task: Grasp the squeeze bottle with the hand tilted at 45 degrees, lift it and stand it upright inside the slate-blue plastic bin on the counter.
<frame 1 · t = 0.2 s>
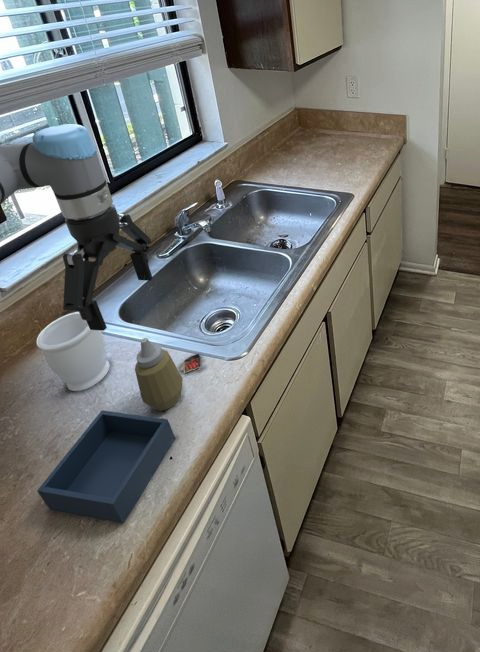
hand: (123, 302, 86), 26 cm above the worktop, tool pointing down, fingers open, 13 cm apart
jar: (89, 375, 102), on the worktop
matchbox: (191, 365, 104), on the worktop
squeeze bottle: (167, 399, 96), on the worktop
bin: (116, 472, 83), on the worktop
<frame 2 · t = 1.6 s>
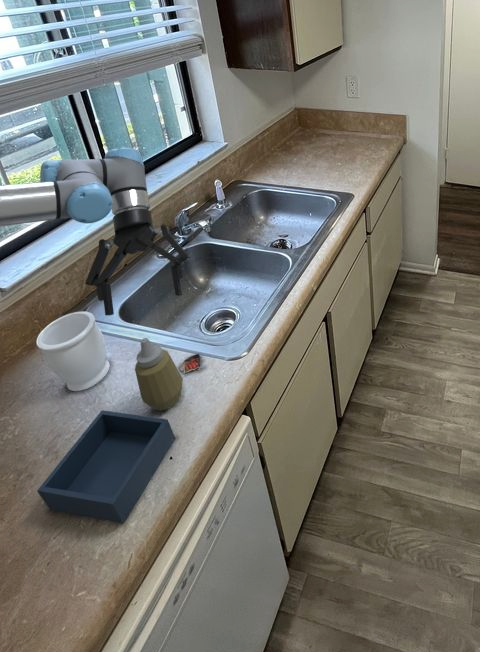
hand: (145, 304, 96), 19 cm above the worktop, tool tilted 45°, fingers open, 13 cm apart
nothing on the worktop moved.
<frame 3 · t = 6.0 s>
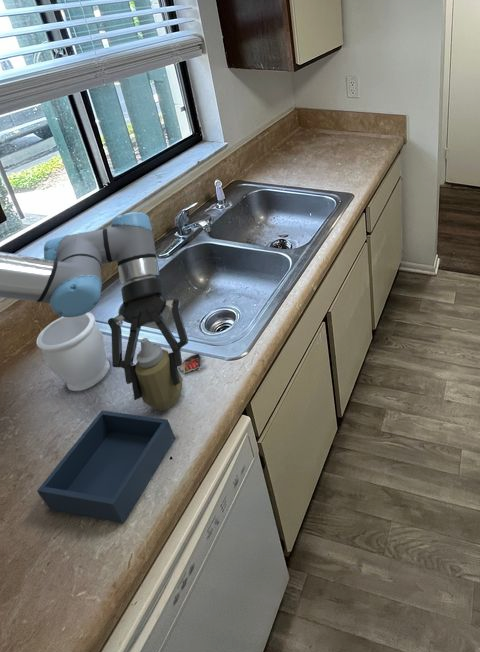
hand: (158, 391, 90), 7 cm above the worktop, tool tilted 45°, fingers closed on squeeze bottle, 6 cm apart
squeeze bottle: (167, 399, 96), on the worktop, touching gripper
everything else where it was.
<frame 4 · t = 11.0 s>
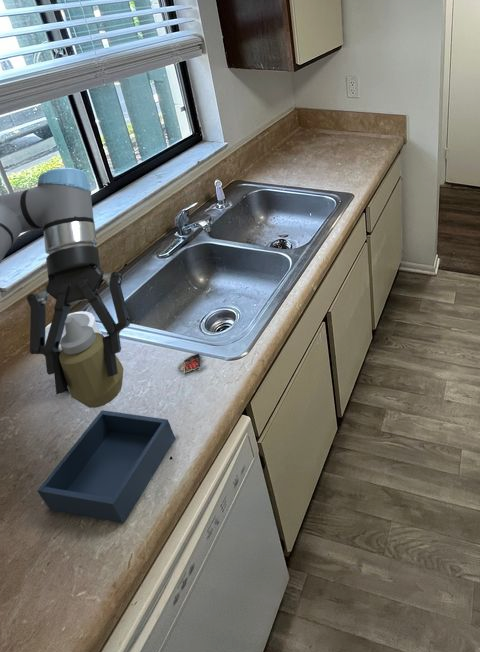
hand: (88, 383, 73), 24 cm above the worktop, tool tilted 45°, fingers closed on squeeze bottle, 6 cm apart
squeeze bottle: (104, 394, 79), point 17 cm above the worktop, touching gripper
everything else where it was.
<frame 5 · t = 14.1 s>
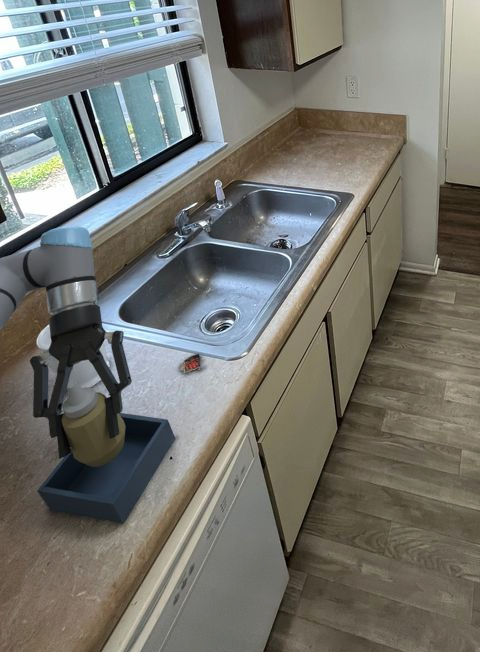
hand: (90, 445, 74), 14 cm above the worktop, tool tilted 45°, fingers closed on squeeze bottle, 6 cm apart
squeeze bottle: (106, 451, 80), point 6 cm above the worktop, touching gripper
everything else where it was.
when the fingers open (8 cm above the worktop, at t = 16.1 s): squeeze bottle stays where it is, resting on bin.
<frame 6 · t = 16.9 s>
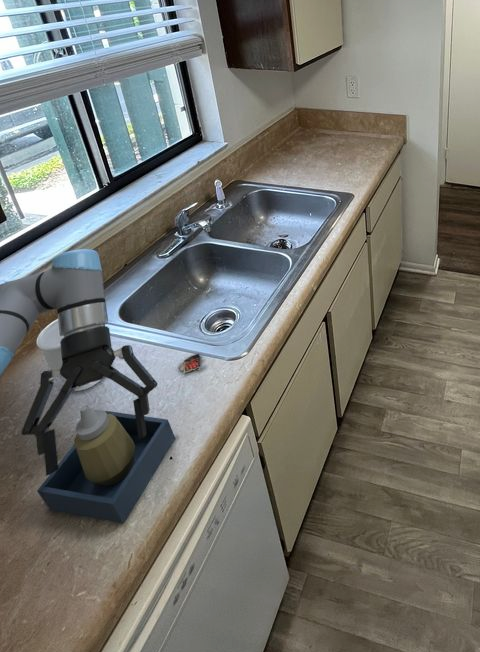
hand: (99, 454, 77), 9 cm above the worktop, tool tilted 45°, fingers open, 13 cm apart
squeeze bottle: (116, 470, 83), resting on bin
everything else where it was.
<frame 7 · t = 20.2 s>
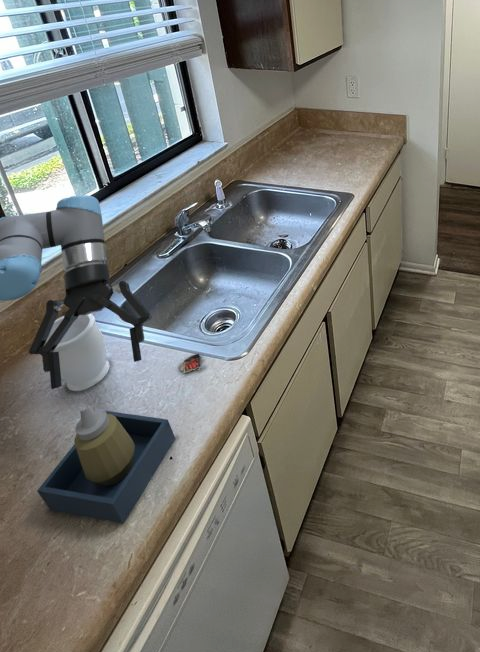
hand: (98, 374, 85), 14 cm above the worktop, tool tilted 45°, fingers open, 13 cm apart
nothing on the worktop moved.
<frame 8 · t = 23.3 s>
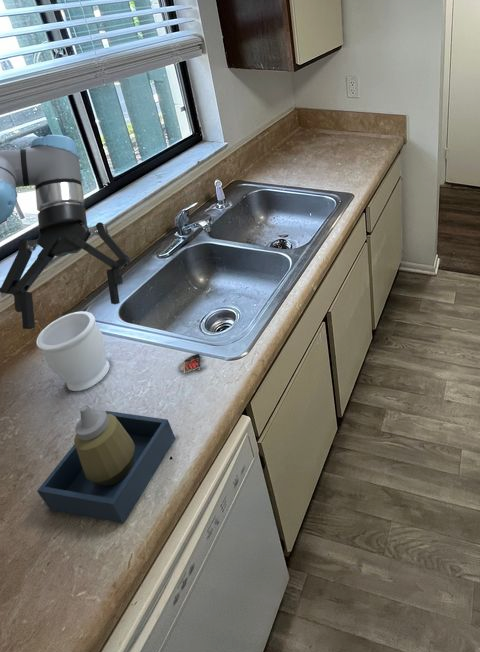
hand: (73, 315, 82), 28 cm above the worktop, tool tilted 45°, fingers open, 13 cm apart
nothing on the worktop moved.
at the end: squeeze bottle inside the target area in the bin (0.1 cm from its centre), point 0.4 cm above the bin's base; squeeze bottle tilted 0°; the gripper is holding nothing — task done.
